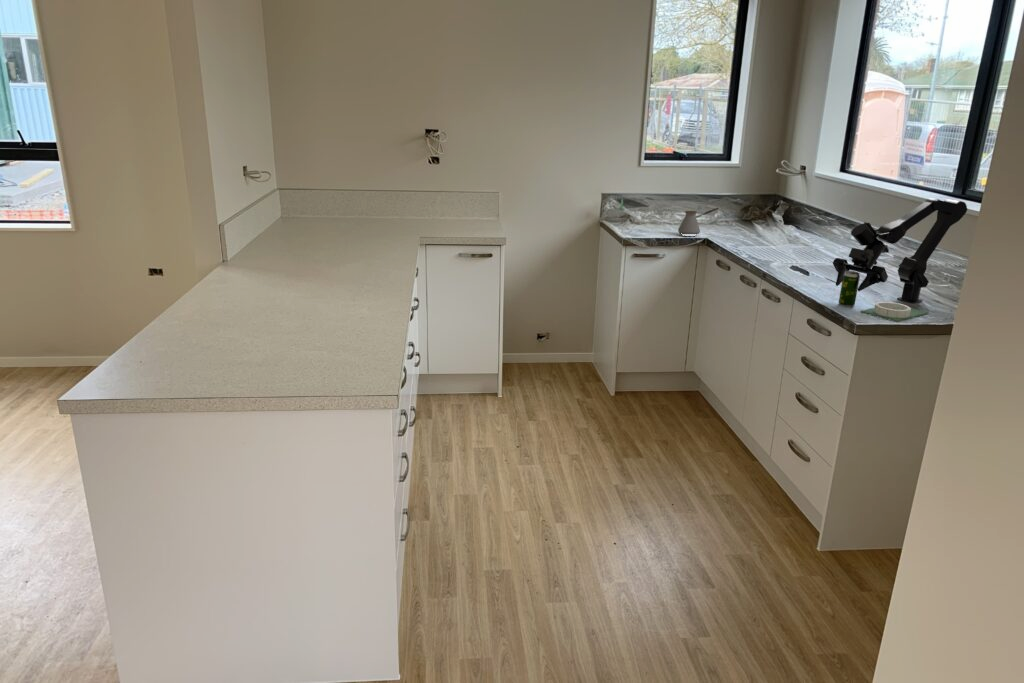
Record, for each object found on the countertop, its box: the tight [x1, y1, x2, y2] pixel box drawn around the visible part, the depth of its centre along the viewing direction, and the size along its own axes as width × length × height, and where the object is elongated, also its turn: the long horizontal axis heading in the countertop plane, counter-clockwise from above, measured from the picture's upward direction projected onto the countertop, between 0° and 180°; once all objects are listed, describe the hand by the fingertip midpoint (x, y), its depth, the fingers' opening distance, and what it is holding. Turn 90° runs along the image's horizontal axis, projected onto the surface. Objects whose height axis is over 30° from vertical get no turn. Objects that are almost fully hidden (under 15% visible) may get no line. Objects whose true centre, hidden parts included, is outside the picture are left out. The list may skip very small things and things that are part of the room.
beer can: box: [838, 270, 861, 308], centre depth 259 cm, size 5×5×12 cm
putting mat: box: [860, 307, 929, 323], centre depth 253 cm, size 20×13×1 cm, turn 124°
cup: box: [873, 301, 912, 318], centre depth 251 cm, size 11×11×2 cm
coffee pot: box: [677, 207, 720, 235], centre depth 386 cm, size 21×12×15 cm, turn 99°
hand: (847, 287), depth 258 cm, fingers open, 8 cm apart
